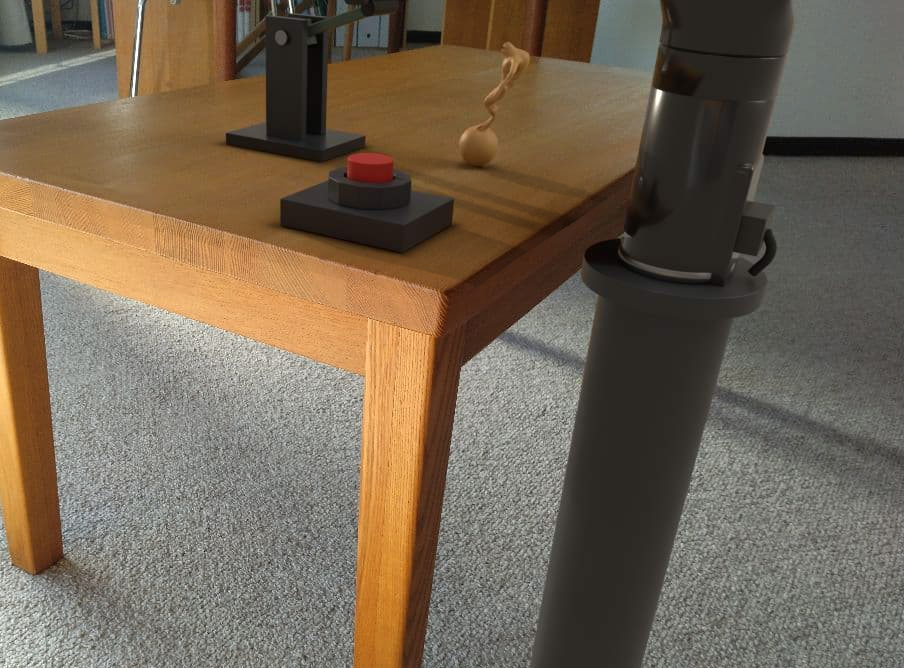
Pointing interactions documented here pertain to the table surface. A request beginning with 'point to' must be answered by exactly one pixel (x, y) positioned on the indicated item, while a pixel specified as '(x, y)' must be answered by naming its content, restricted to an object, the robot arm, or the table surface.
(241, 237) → the table surface
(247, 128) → the bracket
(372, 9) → the lever
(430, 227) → the button block
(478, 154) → the figurine
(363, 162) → the button
